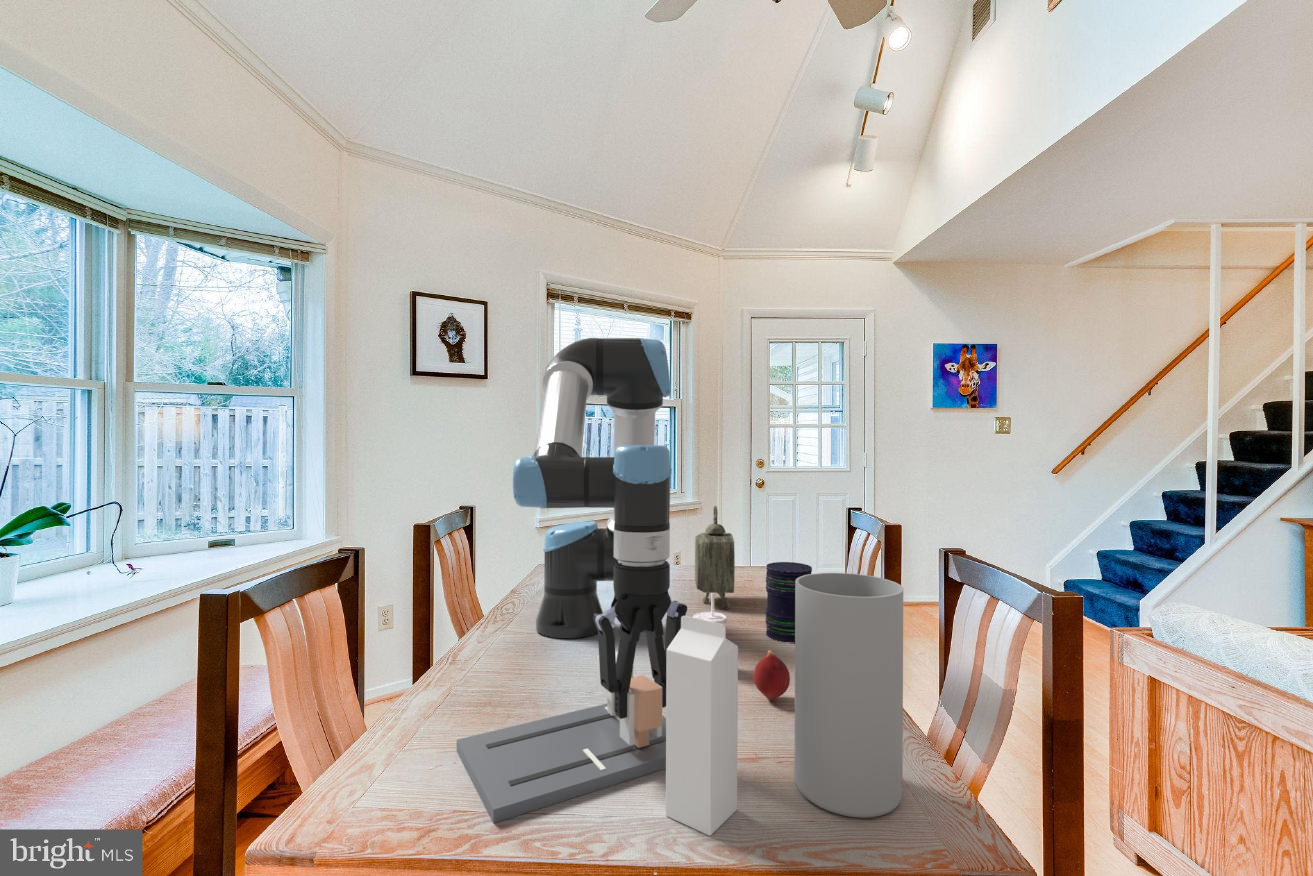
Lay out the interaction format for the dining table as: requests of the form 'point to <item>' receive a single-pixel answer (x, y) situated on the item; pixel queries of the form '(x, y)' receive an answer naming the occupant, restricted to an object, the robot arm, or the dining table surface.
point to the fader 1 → (604, 691)
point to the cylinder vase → (849, 692)
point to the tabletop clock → (715, 561)
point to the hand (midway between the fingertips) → (640, 735)
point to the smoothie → (711, 614)
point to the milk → (701, 725)
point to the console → (555, 760)
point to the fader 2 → (645, 708)
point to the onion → (771, 676)
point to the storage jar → (782, 598)
